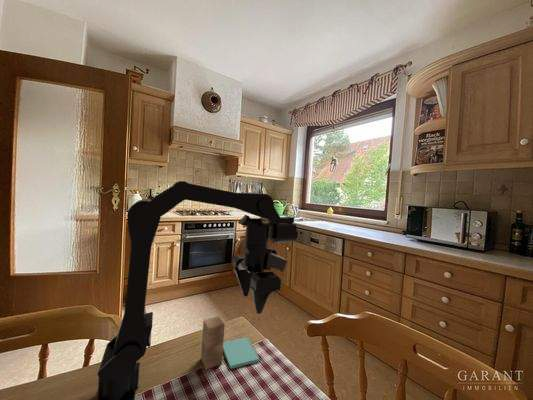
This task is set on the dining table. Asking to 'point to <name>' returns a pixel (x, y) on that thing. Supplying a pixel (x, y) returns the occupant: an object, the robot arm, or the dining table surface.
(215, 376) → the dining table surface
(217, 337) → the walnut block
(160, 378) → the dining table surface
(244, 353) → the mat
